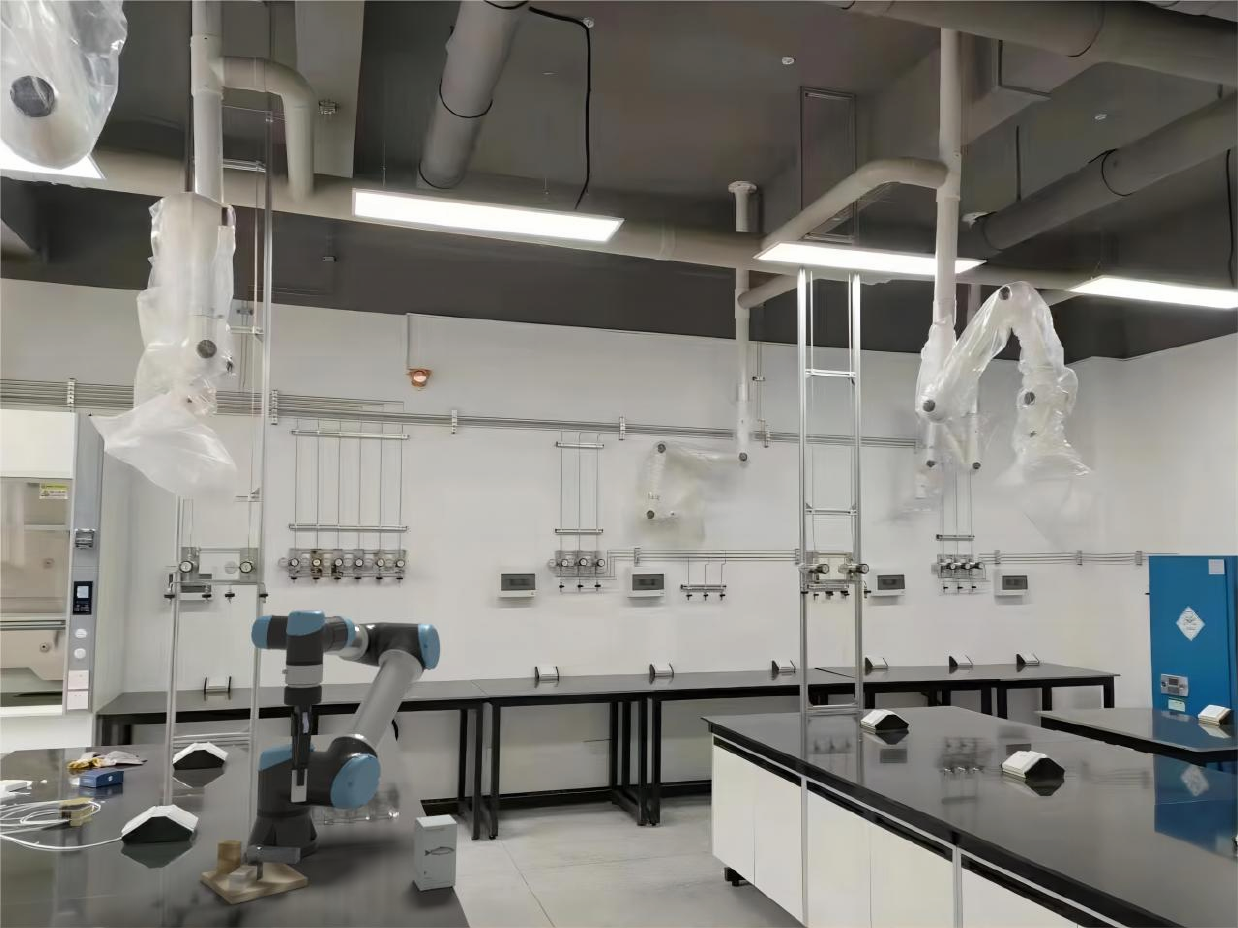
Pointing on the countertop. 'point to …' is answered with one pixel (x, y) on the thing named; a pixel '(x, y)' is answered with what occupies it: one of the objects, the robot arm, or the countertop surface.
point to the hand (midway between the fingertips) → (298, 800)
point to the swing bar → (272, 854)
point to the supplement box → (435, 852)
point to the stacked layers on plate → (76, 811)
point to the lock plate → (261, 887)
